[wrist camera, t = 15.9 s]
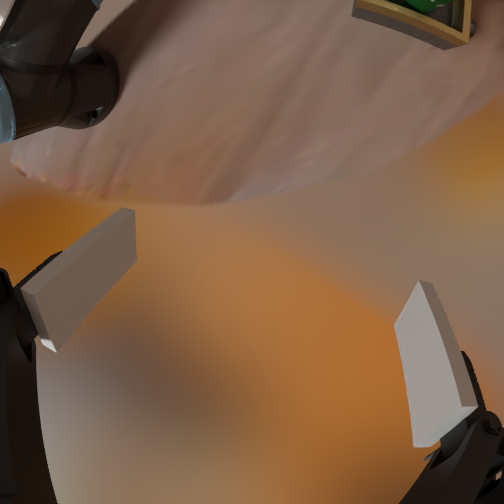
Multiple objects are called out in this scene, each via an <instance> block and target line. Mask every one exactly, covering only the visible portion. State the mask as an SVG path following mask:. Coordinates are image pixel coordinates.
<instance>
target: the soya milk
mask: <svg viewBox="0 0 504 504" xmlns="http://www.w3.org/2000/svg"><path fill="white" fill-rule="evenodd" d="M405 1H407V2H408V3H409V4H410V5H411V6H412V7H413V8H414V9H415V10H416V11H417V12H418V13H420V14H425V13H427V12H429V11H432V10H434V9H437V8H439V7H442V6H444V5H447V4H449V3H451V2H453V1H454V0H405Z"/></svg>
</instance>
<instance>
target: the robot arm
mask: <svg viewBox="0 0 504 504" xmlns="http://www.w3.org/2000/svg"><path fill="white" fill-rule="evenodd" d="M102 1H103V0H0V144H1V143H5V142H7V143H8V142H11V141H13V140H16V139H18V138H21V137H24V136H27V135H29V134H32V133H35V132H38V131H41V130H45V129H48V128H51V127H54V126H59V127H65V128H71V129H84V128H88V127H92V126H94V125H96V124H98V123H100V122H101V121H102V120H103V119H104V118H105V117H106V116H107V115H108V114H109V112H110V111H111V109H112V107H113V105H114V103H115V101H116V98H117V94H118V90H119V72H118V68H117V65H116V62H115V60H114V59H113V57H112V56H111V55H110V54H109V53H108V52H107V51H106V50H104V49H101V48H97V47H82V48H79V49H76V50H75V48H76V46H77V44H78V42H79V40H80V38H81V37H82V35H83V33H84V31H85V30H86V28H87V26H88V24H89V23H90V21H91V19H92V17H93V16H94V14H95V13H96V11H97V10H99V9H100V4H101V3H102ZM136 261H137V253H136V229H135V211H134V210H130V209H125V208H121V209H119V210H118V211H116V212H115V213H114V214H112V215H111V216H109V217H108V218H107V219H105V220H104V221H102V222H101V223H100V224H98V225H97V226H95V227H94V228H93V229H91V230H90V231H89V232H88V233H86V234H85V235H84V236H82V237H81V238H80V239H78V240H77V241H76V242H75V243H73V244H72V245H71V246H69V247H68V248H67V249H66V250H64V251H60V252H58V253H56V254H53V255H52V256H50V257H49V258H48V259H46V260H45V261H44V262H43V263H42V264H40V265H39V266H38V267H36V270H33V271H32V272H31V273H29V274H28V275H27V276H26V277H25V278H24V279H23V280H21V281H20V282H19V283H18V284H17V285H16V286H15V287H14V288H13V287H12V284H11V281H10V278H9V275H8V272H7V271H6V270H5V269H2V268H0V504H58V503H57V500H56V497H55V493H54V489H53V485H52V481H51V477H50V473H49V468H48V464H47V459H46V454H45V448H44V443H43V437H42V430H41V423H40V414H39V404H38V392H37V375H36V344H35V341H34V339H35V337H36V336H37V335H39V337H40V339H41V341H42V343H43V345H44V346H46V347H48V348H49V349H51V350H53V351H55V352H58V351H59V349H60V348H61V347H62V346H63V344H64V343H65V342H66V340H67V339H68V338H69V337H70V336H71V335H72V333H73V332H74V331H75V330H76V329H77V327H78V326H79V325H80V324H81V323H82V321H83V320H84V319H85V318H86V317H87V316H88V314H89V313H90V312H91V311H92V310H93V309H94V307H95V306H96V305H97V304H98V303H99V302H100V301H101V299H102V298H103V297H104V296H105V295H106V294H107V293H108V292H109V290H110V289H111V288H112V287H113V286H114V285H115V284H116V283H117V282H118V281H119V279H120V278H121V277H122V276H123V275H124V274H125V273H126V272H127V271H128V270H129V269H130V267H131V266H132V265H133V264H134V263H135V262H136ZM394 327H395V331H396V336H397V340H398V345H399V350H400V355H401V360H402V365H403V371H404V377H405V382H406V388H407V395H408V401H409V409H410V416H411V424H412V434H413V445H414V447H430V446H432V445H433V444H434V443H436V442H437V441H438V440H440V442H441V447H439V448H438V449H437V450H435V451H434V452H432V453H431V454H430V455H428V456H427V457H426V458H425V459H424V461H426V460H428V459H429V458H431V457H432V458H431V459H430V461H429V463H428V464H427V465H426V467H425V468H424V470H423V471H422V473H421V474H420V476H419V477H418V479H417V480H416V482H415V483H414V484H413V486H412V487H411V488H410V490H409V491H408V492H407V494H406V495H405V496H404V498H403V499H402V500H401V501H400V503H399V504H504V428H503V427H502V424H501V422H500V420H499V418H498V417H497V416H496V414H494V413H492V412H491V411H487V410H486V407H485V403H484V400H483V397H482V393H481V390H480V387H479V384H478V382H477V378H476V375H475V373H474V369H473V366H472V363H471V361H470V359H469V358H468V356H467V355H466V353H465V352H464V351H460V348H459V345H458V343H457V340H456V338H455V335H454V332H453V330H452V327H451V326H450V323H449V320H448V318H447V316H446V313H445V311H444V308H443V306H442V304H441V302H440V299H439V297H438V295H437V293H436V291H435V289H434V286H433V284H432V283H428V282H424V281H420V280H419V281H418V283H417V285H416V287H415V288H414V291H413V292H412V294H411V296H410V298H409V300H408V302H407V303H406V305H405V307H404V309H403V310H402V312H401V314H400V316H399V318H398V319H397V321H396V323H395V324H394ZM501 471H502V475H501V478H499V479H497V480H496V474H498V473H499V472H501Z"/></svg>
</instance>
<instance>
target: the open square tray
mask: <svg viewBox="0 0 504 504" xmlns="http://www.w3.org/2000/svg"><path fill="white" fill-rule="evenodd" d="M471 3H472V0H454V1H453V2H451V3H449V4H447V5H444V6H442V7H439V8H437V9H434V10H432V11H429V12H427V13H425V14H420V13H418V12H417V11H416V10H415V9H414V8H413V7H412V6H411V5H410V4H409V3H408V2H407V1H405V0H354V4H353V10H352V17H356V18H359V19H363V20H366V21H370V22H373V23H376V24H379V25H382V26H385V27H388V28H391V29H394V30H397V31H399V32H402V33H405V34H407V35H410V36H412V37H415V38H417V39H420V40H422V41H424V42H427V43H429V44H431V45H434V46H436V47H438V48H440V49H442V50H447V49H450V48H454V47H458V46H462V45H465V44H468V42H469V37H470V38H471V37H473V35H474V34H475V32H476V23H475V21H473V20H471Z"/></svg>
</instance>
